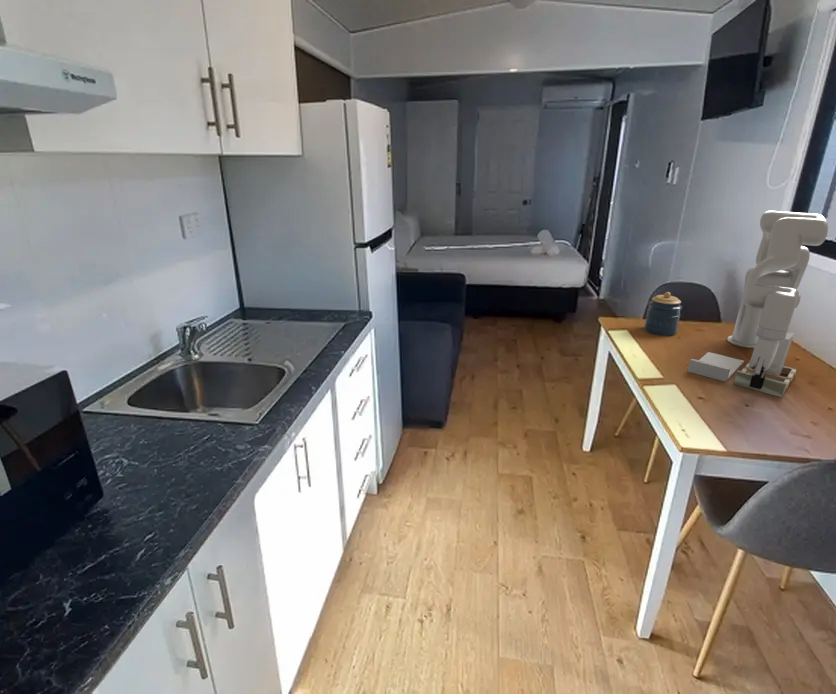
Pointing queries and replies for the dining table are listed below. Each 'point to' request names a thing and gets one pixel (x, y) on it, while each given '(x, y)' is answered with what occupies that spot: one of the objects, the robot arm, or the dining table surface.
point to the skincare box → (780, 355)
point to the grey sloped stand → (715, 366)
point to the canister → (663, 315)
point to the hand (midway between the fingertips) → (755, 387)
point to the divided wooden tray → (766, 380)
